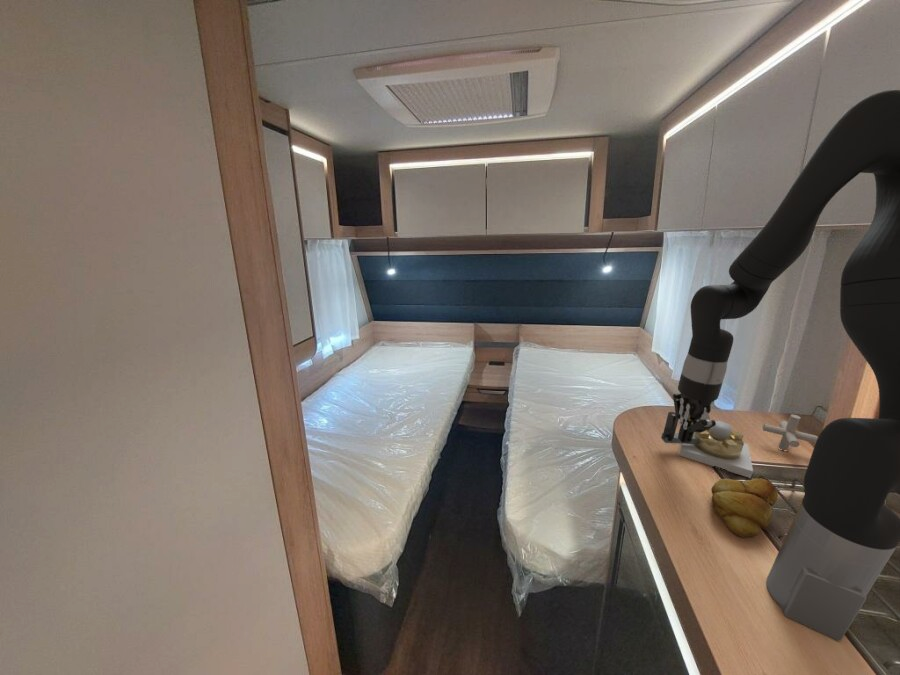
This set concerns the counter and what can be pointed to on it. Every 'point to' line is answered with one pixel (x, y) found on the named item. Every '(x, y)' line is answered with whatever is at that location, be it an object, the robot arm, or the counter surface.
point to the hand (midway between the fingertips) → (683, 440)
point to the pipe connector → (789, 433)
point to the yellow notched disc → (706, 440)
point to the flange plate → (737, 465)
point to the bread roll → (744, 504)
